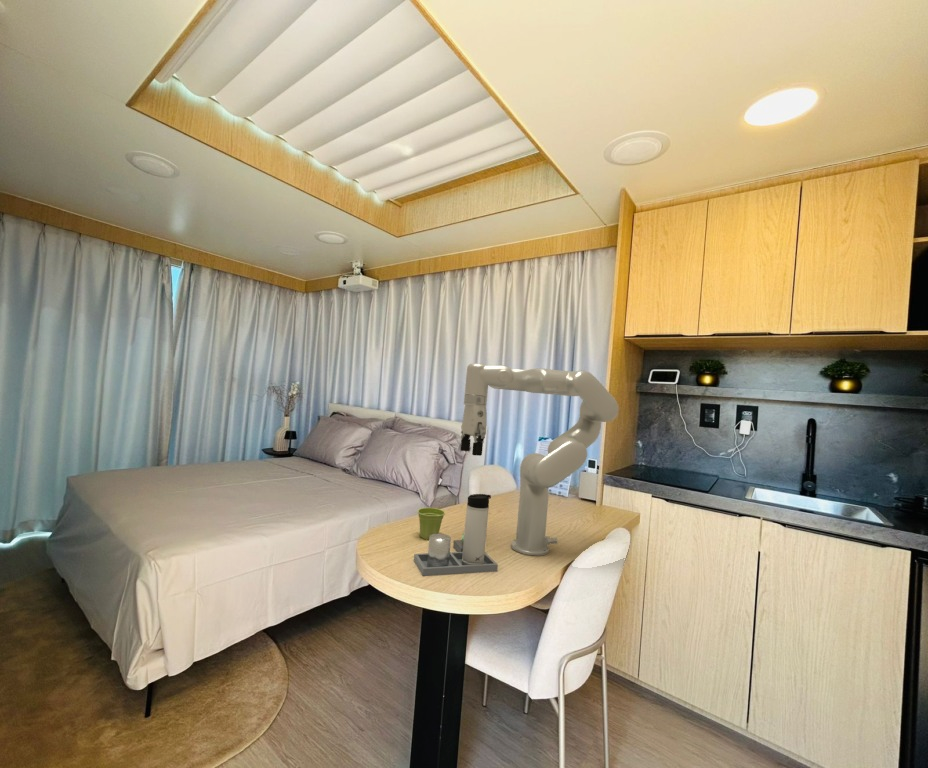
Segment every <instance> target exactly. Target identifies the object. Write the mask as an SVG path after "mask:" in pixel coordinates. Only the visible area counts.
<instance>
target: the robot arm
mask: <svg viewBox="0 0 928 768" xmlns="http://www.w3.org/2000/svg"><path fill="white" fill-rule="evenodd" d="M465 376H466V377H465V384H464V385H465V387H464V397H463V405H464V410H463V416H462V422H461V425H460V427H461V432H460V433H461V436H460V438H461V441H460V451H461V452H469V451H470V450H471V439H470V438H471V436H472V437H473V442H472V450H471V451H472V452H471V455H473V456H483V449H484V448H483V446H484V445H483V444H484V442H485V438H486V435H487V424H488V423H487V420H488V419H487V418H488V417H487V416H488V415H487V414H488V413H487V404H488V403H487V401H488V392H489V391H488V390H489V387H490V388H492V389H495V390H496V389H497V390H504V391H505V390H506V391H516V392H518V391H519V392H525V393H526V392H527V393H532V394H543V395H555V396H565V397H579V398H580V399H581V400H582V402H581V404H580V407H579V418H578V420H577V422H576V423H575V424H574V425H573V426H571V427H570V428H569V429H568V430H566V431H565V432H563V433H562V434H560V435H558V436H557V437H556V438H554V439H552V440H551V442H550V443H549V444H548V446H547V454H546V455H544V454H540V453H537V452H533V453H532V452H531V453H529V454H527V455H526V456H525V457H523V459H522V460H521V463H520V468H519V479H520V480H519V481H520V485H519V498H518V499H519V500H518V512H517V525H516V533H515V535H516V538H515V539H513V540H512V541H510V547H511V549H512V550H514V551H515V552H518V553H520V554H523V555H528V556H533V557H534V556H536V557H538V556H546V555H547V554H549V553H550V547H549V545H554V544H556V545H557V544H558V538H557V537H550V536H549V535H546V530H547V521H548V520H547V518H548V510H549V509H548V508H549V507H548V506H549V495H550V494H549V488H550V489H551V488H553V487H555V486H557V485H558V484H560V483H561V482H562V481H564V480H566V479H567V478H568V477H569V476H571V475H572V474H574V473H575V472H576V471H577V470H579V469H581V468H582V467H583V465H584V464H585V463H586V460H587V457H588V448H589V447H590V446H592V445H593V444H594V443H595V442H596V440H597V439H598V438H599V435H600V432H601V428H602V423H608V422H612V421H614V420H615V419H616V418H617V417H618V415H619V411H620V407H619V404H618V401H617V400H616V399H615V397H614V396H613V395H612V394H611V393H610V392H609V391H608V389H607V388H606V387H605V386H604V385H603V383H601V382H600V381H599V379H598V378H597V377H596V376H595V375H594V374H592V373H591V372H589V371H587V370H577V371H576V370H575V371H571V370H570V371H569V370H560V369H559V370H558V369H550V368H530V369H512V368H510V367H509V366H506V365H502V364H501V365H497V364H496V365H488V364H484V363H469V364H468V365H467V367H466V375H465Z"/></svg>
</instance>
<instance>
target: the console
mask: <svg viewBox="0 0 928 768" xmlns="http://www.w3.org/2000/svg"><path fill="white" fill-rule="evenodd" d="M452 548H453V549H454V550H455V552H463V542H462V539H455V540H454V539H453V544H452Z"/></svg>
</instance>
